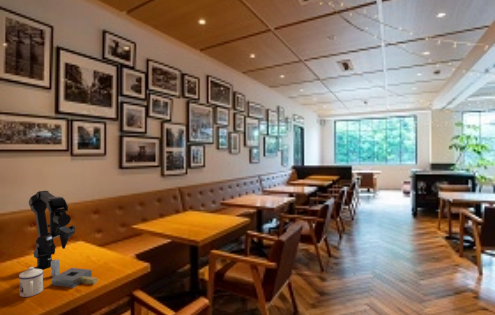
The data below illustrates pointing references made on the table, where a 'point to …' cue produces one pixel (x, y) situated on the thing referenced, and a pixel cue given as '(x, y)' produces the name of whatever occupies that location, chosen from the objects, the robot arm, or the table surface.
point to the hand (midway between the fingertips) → (56, 251)
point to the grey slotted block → (74, 278)
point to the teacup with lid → (31, 282)
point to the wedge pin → (55, 268)
